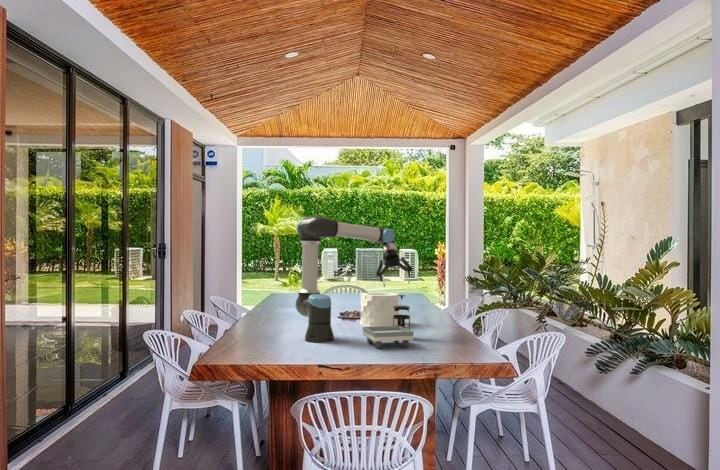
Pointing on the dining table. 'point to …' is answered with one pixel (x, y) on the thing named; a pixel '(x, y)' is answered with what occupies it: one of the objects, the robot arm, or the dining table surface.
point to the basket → (378, 309)
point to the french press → (401, 317)
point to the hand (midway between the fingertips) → (396, 283)
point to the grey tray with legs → (387, 335)
